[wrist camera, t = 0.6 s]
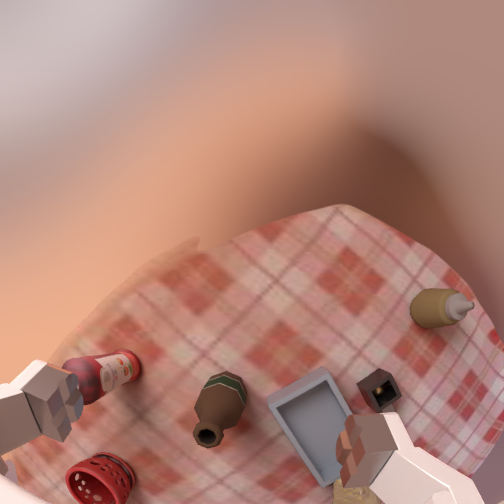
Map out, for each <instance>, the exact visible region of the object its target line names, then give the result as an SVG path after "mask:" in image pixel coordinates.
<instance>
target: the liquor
mask: <svg viewBox="0 0 504 504" xmlns="http://www.w3.org/2000/svg"><path fill="white" fill-rule="evenodd" d="M62 369H65V370H67V371H70V372H73V373H74V374H76V375H77V377H78V380H79V385H78V386H77V388H78V390H79V391H80V392H81V394H82V396H83V405H89V404H91V403H93V402H95V401H96V400H98V399H100V398H101V397H103V396H105V395H106V394H108V393H109V392H111V391H112V390H114V389H115V388H117V387H118V386H120V385H122V384H123V383H125V382H131V381H134V380H135V379H136V378H137V377H138V376H139V373H140V363H139V360H138V358H137V357H136V355H135V354H134V353H133V352H131V351H129V350H127V349H119V350H117V351H115V352H114V353H111V354H105V355H97V356H87V357H81V358H72V359H69V360H68V361H66V362H65V363H64V365H63V367H62Z"/></svg>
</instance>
